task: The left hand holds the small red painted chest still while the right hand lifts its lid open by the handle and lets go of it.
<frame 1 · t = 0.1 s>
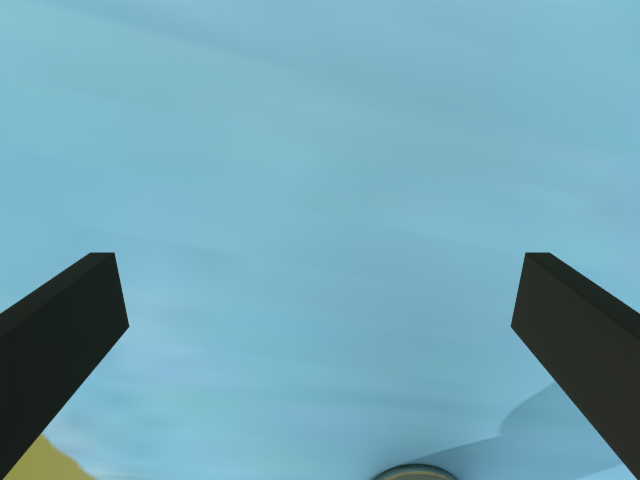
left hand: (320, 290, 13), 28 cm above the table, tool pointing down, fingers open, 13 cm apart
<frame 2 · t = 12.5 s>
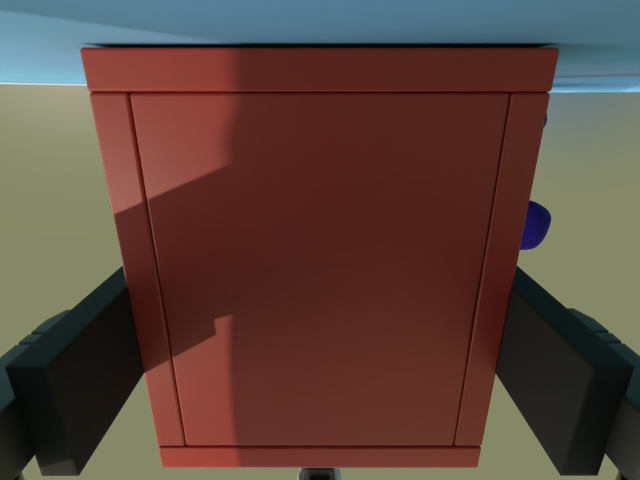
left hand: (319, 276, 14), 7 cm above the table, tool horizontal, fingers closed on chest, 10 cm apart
chest: (319, 71, 16), on the table, touching left hand
lid: (319, 365, 22), point 15 cm above the table, hinge at 0.0°
toy: (470, 86, 41), on the table
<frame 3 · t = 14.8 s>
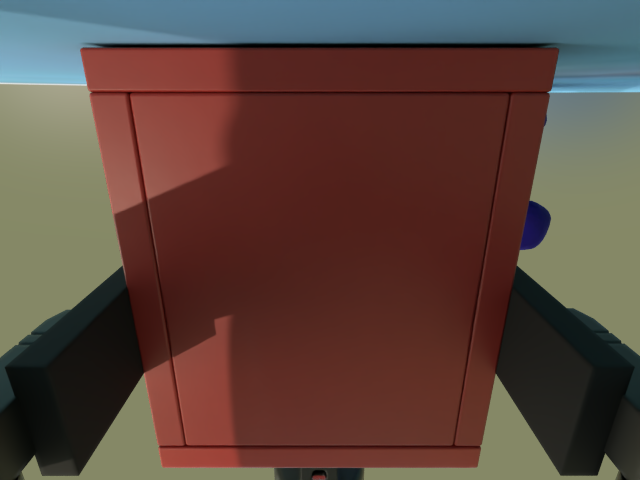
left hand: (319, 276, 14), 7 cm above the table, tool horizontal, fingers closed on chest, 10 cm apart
chest: (319, 71, 16), on the table, touching left hand
lid: (319, 365, 22), point 15 cm above the table, hinge at -0.1°, touching right hand
toy: (470, 86, 41), on the table
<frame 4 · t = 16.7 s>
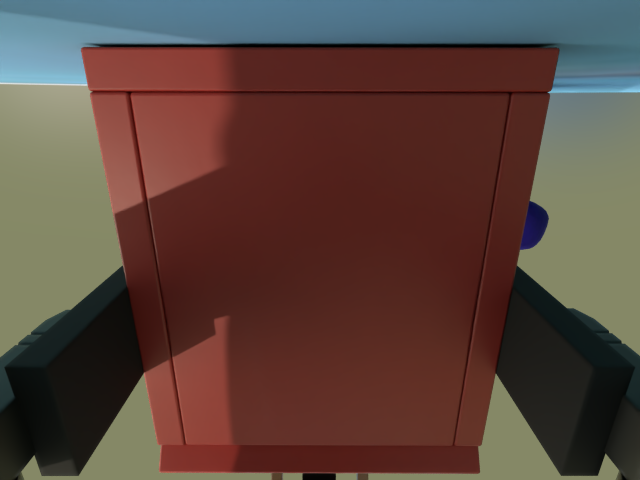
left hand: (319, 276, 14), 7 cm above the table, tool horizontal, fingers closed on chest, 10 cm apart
chest: (320, 71, 16), on the table, touching left hand
lid: (319, 476, 20), point 19 cm above the table, hinge at 32.5°, touching right hand
toy: (468, 86, 41), on the table
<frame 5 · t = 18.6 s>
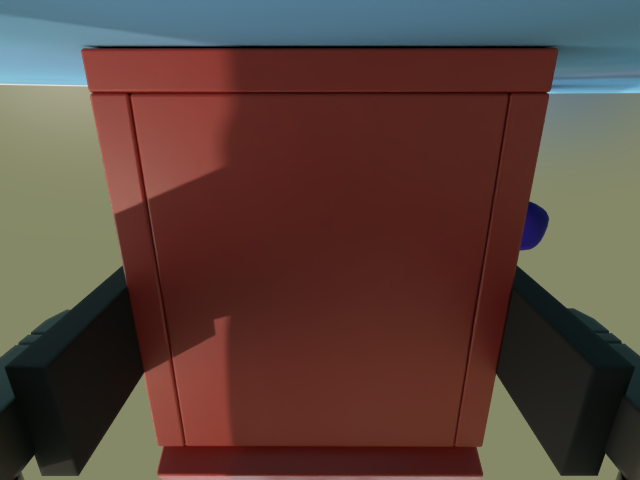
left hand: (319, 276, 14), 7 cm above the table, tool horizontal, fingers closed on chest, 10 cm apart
chest: (320, 73, 16), on the table, touching left hand
toy: (468, 87, 41), on the table
when the left hand's fingers open (7 cm above the table, at t = 22.2 s): chest stays where it is, on the table.
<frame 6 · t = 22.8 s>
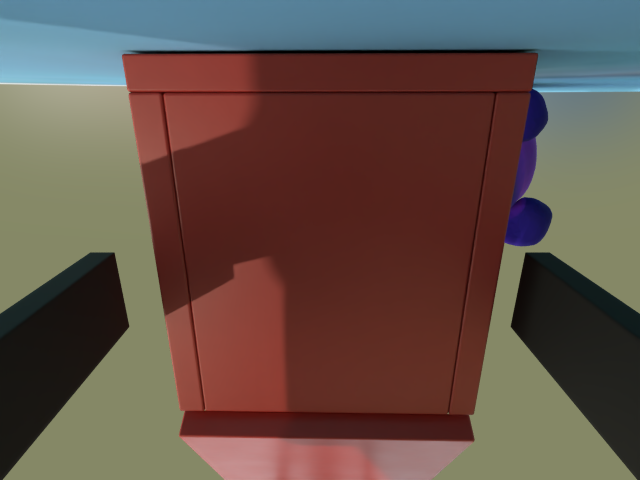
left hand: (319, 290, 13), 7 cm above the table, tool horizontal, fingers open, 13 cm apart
chest: (328, 73, 17), on the table
toy: (474, 86, 42), on the table
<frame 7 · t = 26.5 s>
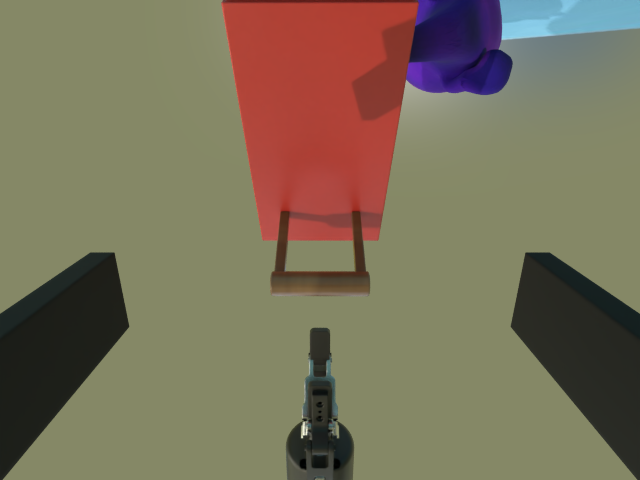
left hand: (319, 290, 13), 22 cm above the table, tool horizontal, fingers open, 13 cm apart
right hand: (319, 353, 38), fingers open, 8 cm apart
lid: (320, 185, 24), point 21 cm above the table, hinge at 61.4°
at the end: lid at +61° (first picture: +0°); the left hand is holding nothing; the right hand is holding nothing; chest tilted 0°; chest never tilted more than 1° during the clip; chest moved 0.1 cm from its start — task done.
